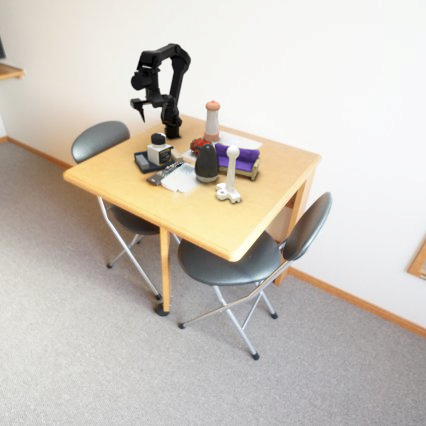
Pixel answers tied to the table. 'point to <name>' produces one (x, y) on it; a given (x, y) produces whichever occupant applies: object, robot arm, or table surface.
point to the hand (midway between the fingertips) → (154, 121)
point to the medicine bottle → (159, 149)
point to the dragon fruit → (198, 144)
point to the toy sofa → (239, 160)
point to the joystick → (229, 178)
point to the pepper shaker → (212, 121)
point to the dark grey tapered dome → (207, 163)
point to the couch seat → (148, 166)
